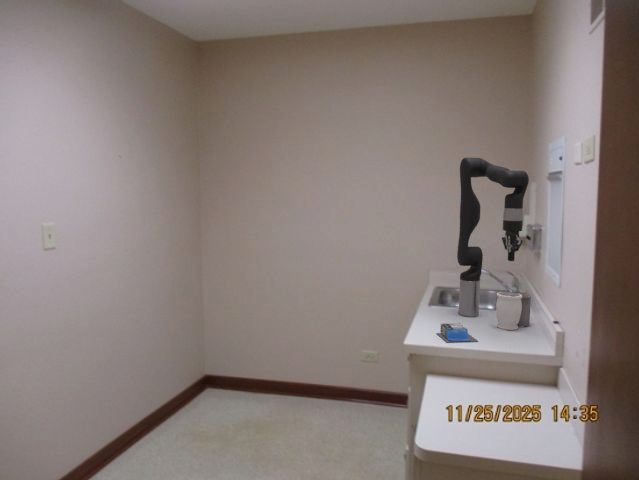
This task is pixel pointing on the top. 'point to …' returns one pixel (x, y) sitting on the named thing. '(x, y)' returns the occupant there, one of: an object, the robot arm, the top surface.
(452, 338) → the label tape box
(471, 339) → the mat
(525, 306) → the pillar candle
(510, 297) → the jar
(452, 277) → the top surface
